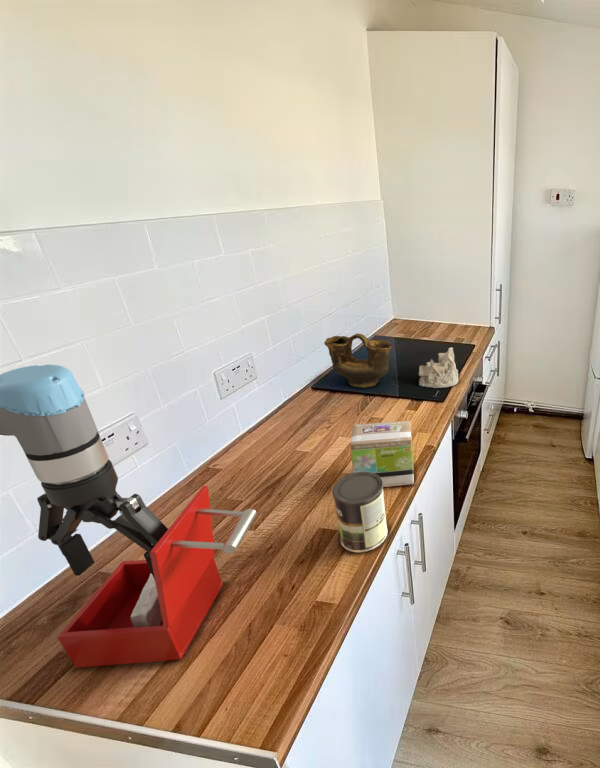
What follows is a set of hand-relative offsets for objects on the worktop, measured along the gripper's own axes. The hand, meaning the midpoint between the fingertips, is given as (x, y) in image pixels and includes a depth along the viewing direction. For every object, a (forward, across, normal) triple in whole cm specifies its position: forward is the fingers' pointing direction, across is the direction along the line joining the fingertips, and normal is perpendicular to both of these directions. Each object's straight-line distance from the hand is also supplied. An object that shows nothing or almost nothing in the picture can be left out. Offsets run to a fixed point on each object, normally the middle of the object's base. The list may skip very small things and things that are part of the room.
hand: (124, 572), depth 72 cm
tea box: (+13, -28, -45) cm, 55 cm away
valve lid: (-4, -10, -2) cm, 11 cm away
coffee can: (+13, -30, -24) cm, 41 cm away
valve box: (+13, -2, 0) cm, 13 cm away
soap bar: (+9, -3, -2) cm, 9 cm away
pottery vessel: (+13, -2, -100) cm, 101 cm away
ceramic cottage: (+13, -30, -108) cm, 113 cm away
